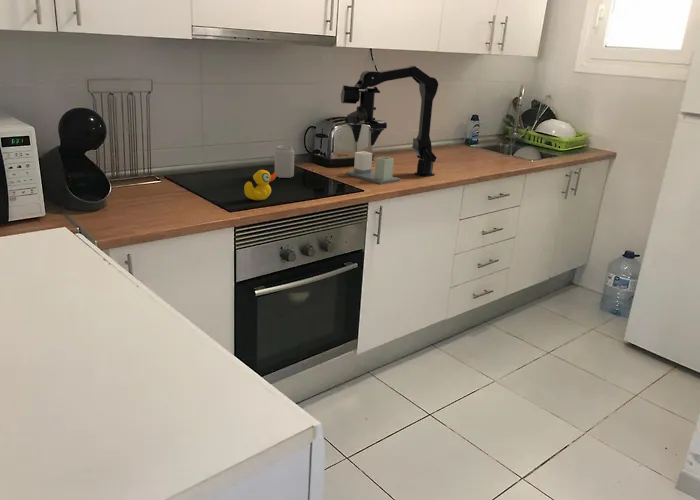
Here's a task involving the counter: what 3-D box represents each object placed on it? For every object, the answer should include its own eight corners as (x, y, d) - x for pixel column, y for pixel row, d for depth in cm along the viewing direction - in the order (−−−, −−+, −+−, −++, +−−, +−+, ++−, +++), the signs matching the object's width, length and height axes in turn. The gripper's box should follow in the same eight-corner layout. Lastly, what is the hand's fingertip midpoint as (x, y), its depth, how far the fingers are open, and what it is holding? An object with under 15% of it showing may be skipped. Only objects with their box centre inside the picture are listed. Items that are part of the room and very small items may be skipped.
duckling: (271, 196, 200) (272, 167, 197) (279, 199, 196) (279, 170, 193) (241, 199, 194) (241, 169, 190) (248, 203, 190) (248, 173, 186)
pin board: (365, 171, 246) (366, 150, 243) (399, 181, 233) (401, 158, 229) (346, 174, 239) (347, 152, 236) (380, 184, 225) (382, 161, 222)
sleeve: (362, 170, 243) (363, 151, 240) (371, 172, 239) (372, 153, 237) (353, 171, 240) (355, 152, 237) (362, 174, 236) (363, 154, 233)
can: (290, 180, 224) (291, 149, 220) (271, 178, 225) (272, 147, 221) (296, 176, 231) (296, 145, 227) (278, 174, 232) (278, 144, 228)
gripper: (336, 102, 231) (334, 141, 237) (368, 107, 219) (365, 149, 224) (356, 101, 239) (354, 139, 244) (389, 106, 226) (386, 146, 231)
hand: (364, 143), depth 235 cm, fingers open, 9 cm apart
